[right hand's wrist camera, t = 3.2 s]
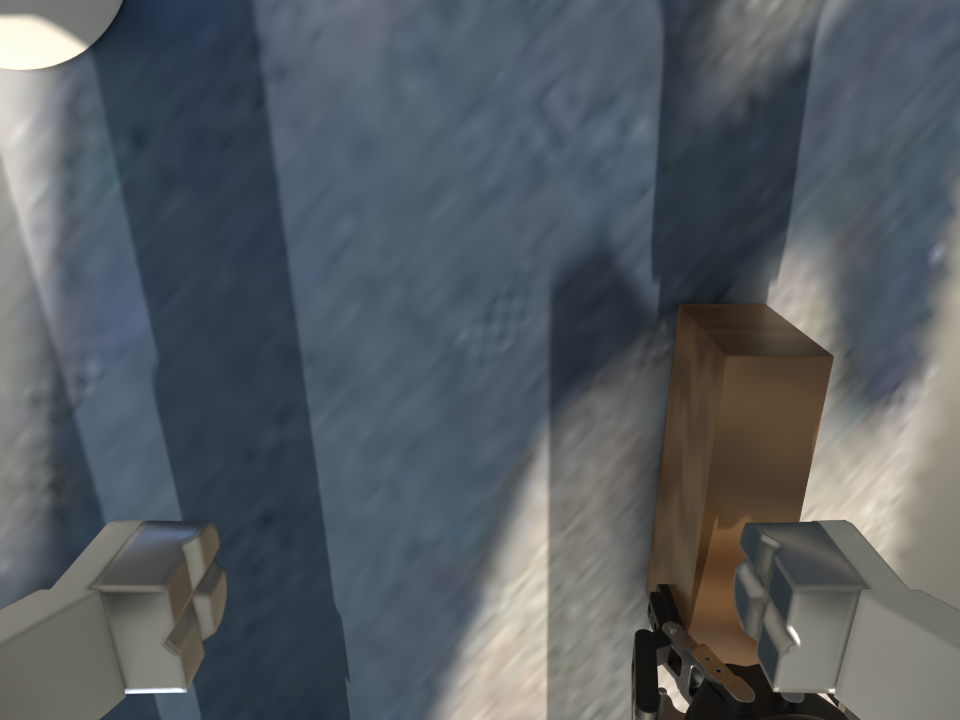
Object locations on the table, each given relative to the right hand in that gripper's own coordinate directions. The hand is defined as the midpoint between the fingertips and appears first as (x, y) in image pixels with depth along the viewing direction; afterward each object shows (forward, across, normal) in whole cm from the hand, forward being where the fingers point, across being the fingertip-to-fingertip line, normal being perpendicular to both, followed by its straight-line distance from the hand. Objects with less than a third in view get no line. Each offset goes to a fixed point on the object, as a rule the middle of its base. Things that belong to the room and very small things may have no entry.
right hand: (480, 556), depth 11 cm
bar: (+32, -15, +17) cm, 39 cm away
